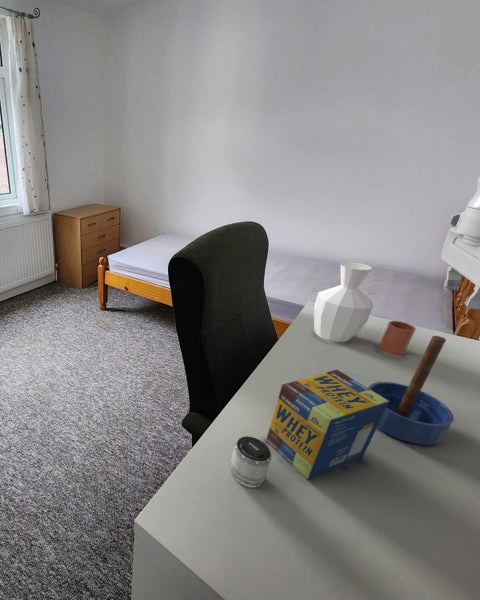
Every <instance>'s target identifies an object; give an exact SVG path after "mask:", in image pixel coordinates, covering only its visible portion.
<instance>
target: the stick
mask: <svg viewBox="0 0 480 600" xmlns="http://www.w3.org/2000/svg"><path fill="white" fill-rule="evenodd" d="M446 341H447V339H446V338H445V337H443V336H440V335H432V336H431V338H430V341H429V343H428V345H427V347H426V349H425V351H424V353H423V355H422V357H421V359H420V361H419V362H418V365H417V368H416V369H415V372H414V373H413V375H412V377H411V380H410V382H409V384H408V385H407V386H408V388H407V390H406V392H405V394H404V396H403V398H402V400H401V403H400V405H399V407H398V409H397V411H396V413H397V414H399V415H401V416H403V417H406V418H407V417H408V415H409V413H410V411H411V409H412V407H413V405H414V403H415V401H416V399H417V397H418V395H419V393H420V391H422V389H423V387H424V385H425V384H426V381H427V379H428V377H429V375H430V373H431V370H432V369H433V367H434V365H435V363H436V361H437V360H438V357H439V356H440V353H441V351H442V349H443V348H444V346H445V343H446Z"/></svg>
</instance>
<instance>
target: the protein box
mask: <svg viewBox="0 0 480 600" xmlns="http://www.w3.org/2000/svg"><path fill="white" fill-rule="evenodd" d="M389 402H390V401H389V400H387V399H385V398H383V397H382V396H380V395H378V394H377V393H375V392H373V391H372V390H370V389H368V386H367V387H366V386H365V385H363V384H362V383H360V382H358V381H357V380H355V379H353V378H352V377H350V376H349V375H347V374H345V373H343V372H342V371H340V370H338V369H333V370H330V371H327V372H323V373H319V374H315V375H311V376H309V377H305V378H301V379H297V380H293V381H291V382H287V383H284V384H283V383H282V384H281V387H280V390H279V393H278V397H277V399H276V404H275V407H274V410H273V414H272V418H271V421H270V425H269V429H268V432H267V436H266V439H265V442H267V443H268V444H269V445H270V446H271V447H272V448H273V449H274V450H275V451H276V452H277V453H279V454H280V456H281V457H282V458H284V459H285V460H286V462H288V463H289V464H290V465H291V467H293V468H294V469H295V470H296V471H297V472H299V474H300V475H301V476H302V477H303V478H304V479H305V480H311V479H313V478H316V477H319V476H321V475H324V474H326V473H329V472H332V471H334V470H337V469H339V468H343V467H346V466H348V465H350V464H352V463H355V462H358V461H361V460H363V459H364V456H365V454H366V452H367V449H368V447H369V446H370V444H371V442H372V439H373V437H374V435H375V433H376V431H377V429H378V428H377V427H378V424H379V422H380V420H381V418H382V416H383V414H384V412H385V410H386V408H387V406H388V403H389ZM267 440H268V441H269V442H270V443H271V444H272V445H271V444H270V443H269V442H268V441H267ZM273 446H274V447H273Z"/></svg>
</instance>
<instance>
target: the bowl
mask: <svg viewBox="0 0 480 600" xmlns="http://www.w3.org/2000/svg"><path fill="white" fill-rule="evenodd" d="M408 386H409V385H406V384H402V383H397V382H391V381H377V382H373V383H371V384H370V385H368V386H367V388H368V389H370V390H372V391H373V392H375V393H377V394H378V395H380V396H382V397H383V398H385V399H387V400H389V401H390V402H389V403H388V406H387V408H386V410H385V412H384V414H383V416H382V418H381V420H380V422H379V424H378V427H377V429H379V430H380V431H381V432H383V433H386V434H388V435H389V436H392V437H394V438H396V439H398V440H401V441H404V442H408V443H411V444H415V445H421V446H434V445H437V444H440V443H441V442H442V441H443V439H444V438H445V436H446V434H447V433H448V431H449V429H450V428H451V425H453V422H454V420H455V419H454V414H453V412H452V411H451V409H450V408H449V407H448V406H447V405H446V404H445V403H443V402H442V401H441V400H439V399H438V398H436V397H435V396H432V395H431V394H429V393H427V392H426V391H422V390H421V391H420V393H419V395H418V397H417V399H416V401H415V403H414V405H413V407H412V409H411V411H410V413H409V415H408V417H407V418H406V417H403V416H401V415H399V414H397V413H396V411H397V409H398V407H399V405H400V403H401V400H402V398H403V396H404V394H405V392H406V390H407V388H408Z"/></svg>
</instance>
